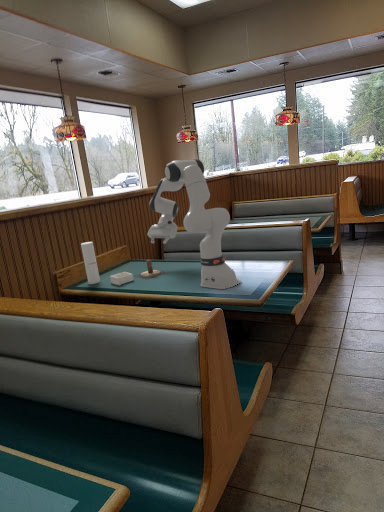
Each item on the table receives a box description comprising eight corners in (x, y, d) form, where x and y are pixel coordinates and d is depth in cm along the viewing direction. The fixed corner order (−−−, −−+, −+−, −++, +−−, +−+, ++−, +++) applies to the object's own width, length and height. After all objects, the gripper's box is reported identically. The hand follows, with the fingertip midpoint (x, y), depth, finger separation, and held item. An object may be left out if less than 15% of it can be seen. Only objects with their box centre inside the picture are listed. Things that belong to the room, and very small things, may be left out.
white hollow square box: (133, 280, 228) (132, 273, 227) (118, 285, 222) (117, 278, 221) (125, 278, 236) (124, 271, 235) (111, 283, 230) (109, 275, 229)
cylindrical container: (98, 283, 234) (90, 243, 228) (87, 284, 234) (79, 244, 228) (101, 279, 240) (94, 241, 235) (90, 281, 241) (82, 242, 235)
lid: (164, 273, 235) (162, 259, 233) (147, 278, 228) (145, 263, 226) (153, 270, 245) (151, 257, 243) (137, 275, 238) (135, 261, 236)
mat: (168, 273, 235) (168, 272, 235) (146, 280, 226) (146, 279, 225) (154, 270, 247) (154, 269, 247) (133, 276, 238) (133, 276, 238)
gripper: (149, 222, 251) (142, 240, 245) (175, 221, 241) (169, 240, 235) (154, 227, 256) (147, 245, 250) (180, 227, 246) (173, 245, 240)
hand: (158, 243), depth 243 cm, fingers open, 8 cm apart
